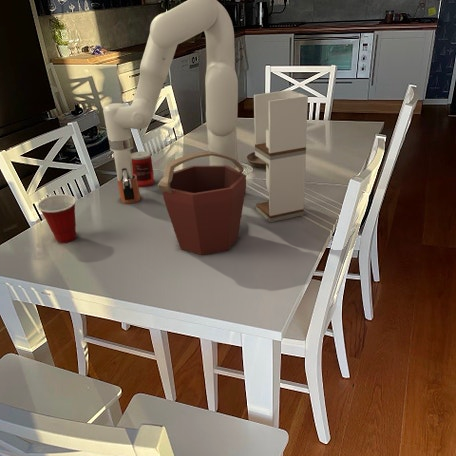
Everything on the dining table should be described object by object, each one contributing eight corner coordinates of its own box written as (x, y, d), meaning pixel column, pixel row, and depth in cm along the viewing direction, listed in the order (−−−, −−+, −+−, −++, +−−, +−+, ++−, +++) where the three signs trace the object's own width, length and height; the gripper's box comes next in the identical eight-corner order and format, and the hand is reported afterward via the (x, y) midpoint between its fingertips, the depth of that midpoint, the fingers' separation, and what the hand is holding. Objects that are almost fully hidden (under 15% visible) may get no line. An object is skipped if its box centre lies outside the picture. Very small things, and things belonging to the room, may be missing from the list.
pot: (140, 202, 164) (136, 179, 160) (120, 204, 164) (116, 181, 159) (140, 195, 170) (136, 173, 166) (121, 197, 169) (117, 175, 165)
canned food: (144, 178, 185) (140, 150, 179) (159, 182, 180) (155, 153, 174) (129, 184, 180) (124, 155, 174) (143, 188, 175) (139, 159, 169)
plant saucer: (241, 169, 188) (240, 161, 186) (253, 155, 202) (253, 148, 200) (285, 171, 182) (285, 163, 181) (295, 157, 196) (295, 150, 195)
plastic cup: (46, 249, 138) (35, 211, 131) (48, 234, 146) (37, 197, 140) (85, 243, 140) (75, 205, 133) (84, 228, 149) (75, 192, 142)
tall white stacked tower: (287, 203, 157) (289, 90, 138) (303, 215, 148) (307, 96, 130) (256, 209, 154) (253, 94, 135) (270, 222, 145) (269, 101, 126)
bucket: (171, 265, 126) (159, 173, 112) (158, 231, 144) (146, 148, 130) (259, 249, 131) (257, 159, 118) (235, 218, 149) (231, 137, 136)
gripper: (110, 138, 163) (119, 187, 173) (108, 152, 149) (118, 206, 158) (132, 135, 164) (140, 185, 174) (132, 150, 150) (141, 203, 159)
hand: (129, 194), depth 166 cm, fingers closed on pot, 6 cm apart
